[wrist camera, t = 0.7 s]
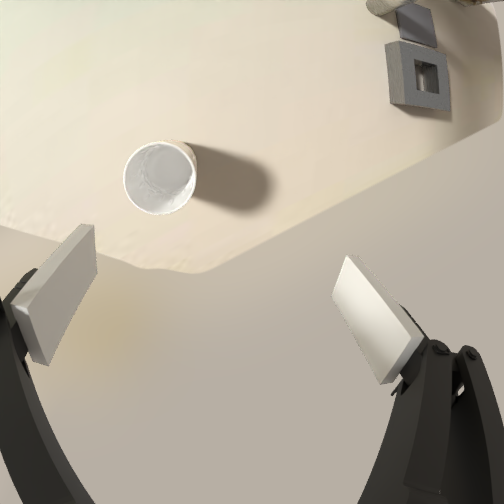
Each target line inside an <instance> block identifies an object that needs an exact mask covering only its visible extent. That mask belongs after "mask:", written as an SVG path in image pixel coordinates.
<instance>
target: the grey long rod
mask: <svg viewBox="0 0 504 504" xmlns="http://www.w3.org/2000/svg"><path fill="white" fill-rule="evenodd" d="M416 1H419V0H367V2H366V6H367V8H368V10H369V11H370V12H371V13H372V14H374V15H376V16H382V15H384V14H386V13H389V12H391V11H393V10H396V9H398V8H401V7H403V6H406V5H408V4H411V3H414V2H416Z"/></svg>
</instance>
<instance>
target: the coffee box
mask: <svg viewBox="0 0 504 504" xmlns="http://www.w3.org/2000/svg"><path fill="white" fill-rule="evenodd" d="M456 1H457V2H459V3H461V4H462V5H464V6H471V5H477V4H483V3H490V2H497V1H504V0H456Z"/></svg>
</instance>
